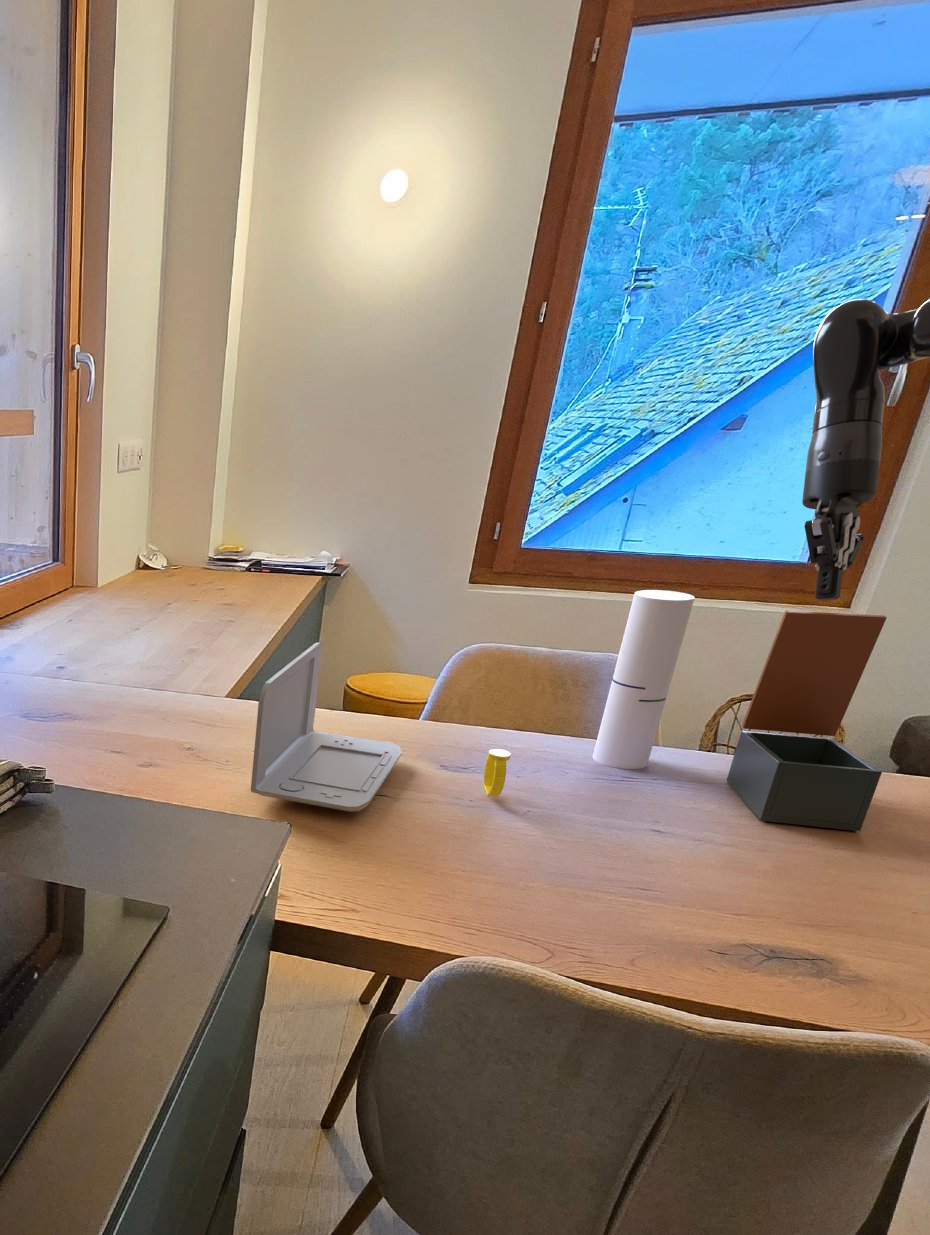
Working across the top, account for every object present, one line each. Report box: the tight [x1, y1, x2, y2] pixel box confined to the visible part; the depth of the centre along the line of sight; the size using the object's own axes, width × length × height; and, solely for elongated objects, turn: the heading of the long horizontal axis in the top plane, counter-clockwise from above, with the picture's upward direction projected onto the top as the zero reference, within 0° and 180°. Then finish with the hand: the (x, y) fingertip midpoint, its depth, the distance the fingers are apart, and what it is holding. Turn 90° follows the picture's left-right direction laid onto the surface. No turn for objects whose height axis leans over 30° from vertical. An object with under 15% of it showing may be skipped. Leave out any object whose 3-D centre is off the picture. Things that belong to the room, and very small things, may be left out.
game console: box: [250, 641, 403, 813], centre depth 134 cm, size 28×15×15 cm, turn 149°
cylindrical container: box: [592, 589, 695, 770], centre depth 138 cm, size 7×7×25 cm
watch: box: [483, 748, 512, 797], centre depth 130 cm, size 6×3×6 cm, turn 167°
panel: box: [741, 610, 888, 737], centre depth 127 cm, size 16×11×1 cm
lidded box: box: [726, 730, 883, 832], centre depth 126 cm, size 16×11×8 cm
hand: (827, 599), depth 127 cm, fingers closed
